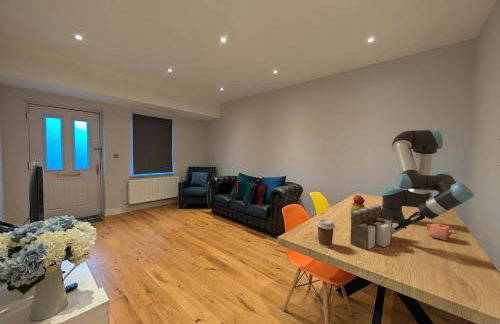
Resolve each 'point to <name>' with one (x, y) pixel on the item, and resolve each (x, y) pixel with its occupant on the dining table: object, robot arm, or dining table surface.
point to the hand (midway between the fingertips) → (391, 231)
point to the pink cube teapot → (439, 231)
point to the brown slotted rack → (367, 217)
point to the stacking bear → (357, 203)
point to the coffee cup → (325, 232)
